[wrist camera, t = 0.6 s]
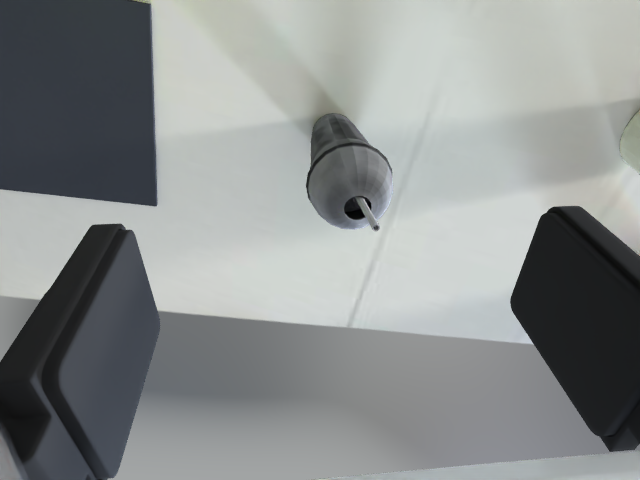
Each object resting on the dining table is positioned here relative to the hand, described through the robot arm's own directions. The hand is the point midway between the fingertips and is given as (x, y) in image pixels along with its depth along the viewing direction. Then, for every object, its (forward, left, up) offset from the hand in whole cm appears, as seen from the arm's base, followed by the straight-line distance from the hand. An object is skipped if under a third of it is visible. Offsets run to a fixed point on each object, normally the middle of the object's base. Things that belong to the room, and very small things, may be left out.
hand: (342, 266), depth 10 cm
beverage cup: (+9, +6, -35) cm, 36 cm away
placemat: (+10, -20, -35) cm, 41 cm away
